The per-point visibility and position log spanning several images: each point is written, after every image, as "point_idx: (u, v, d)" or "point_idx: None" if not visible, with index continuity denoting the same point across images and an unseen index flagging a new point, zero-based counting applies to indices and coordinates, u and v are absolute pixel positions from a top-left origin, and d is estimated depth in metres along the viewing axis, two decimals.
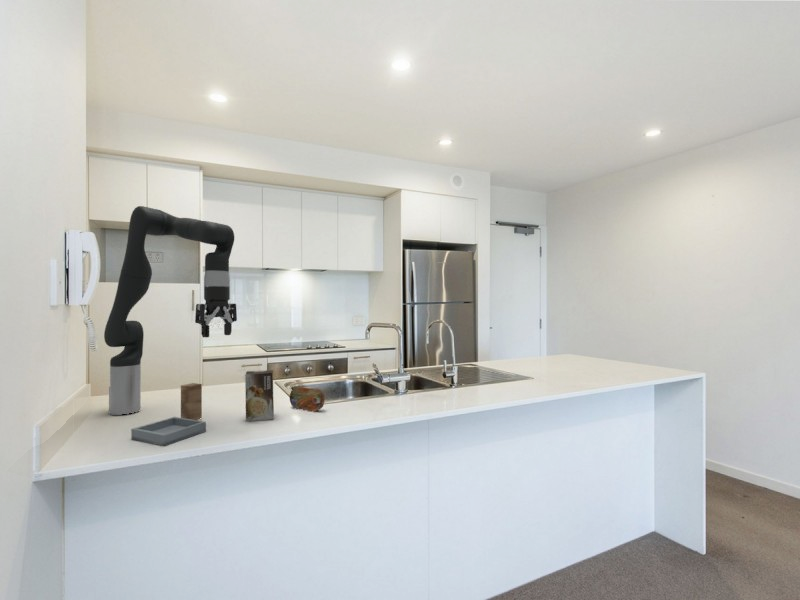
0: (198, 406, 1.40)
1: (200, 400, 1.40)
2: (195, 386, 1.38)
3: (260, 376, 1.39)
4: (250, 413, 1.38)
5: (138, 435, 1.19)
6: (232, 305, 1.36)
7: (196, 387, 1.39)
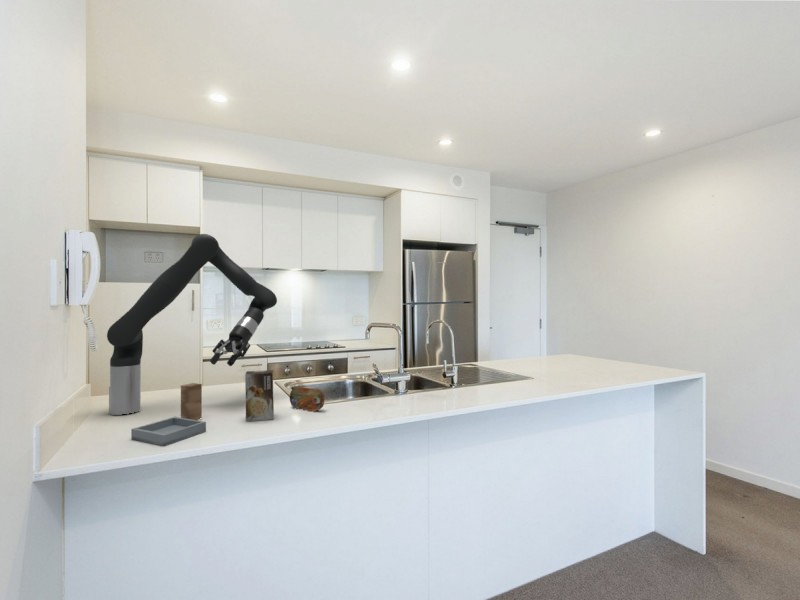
0: (198, 406, 1.40)
1: (200, 400, 1.40)
2: (195, 386, 1.38)
3: (260, 376, 1.39)
4: (250, 413, 1.38)
5: (138, 435, 1.19)
6: None
7: (196, 387, 1.39)
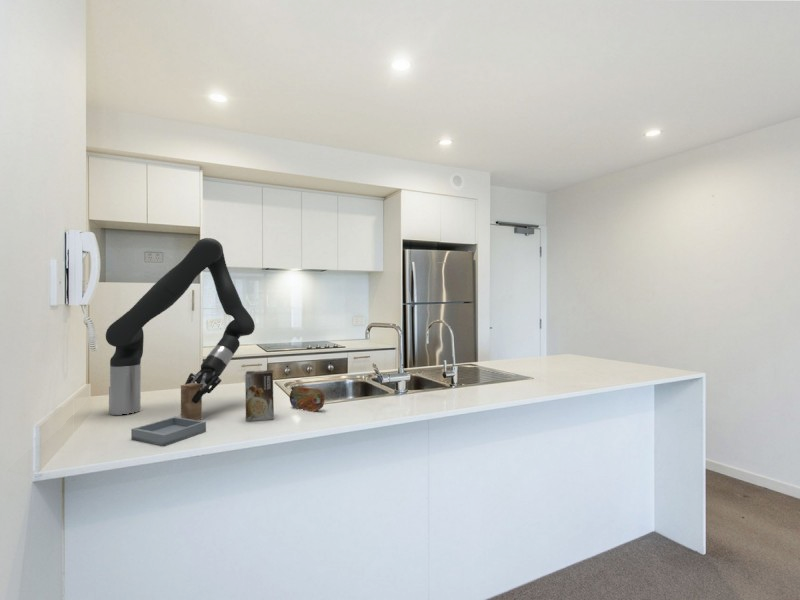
0: (198, 406, 1.40)
1: (200, 400, 1.40)
2: (195, 386, 1.38)
3: (260, 376, 1.39)
4: (250, 413, 1.38)
5: (138, 435, 1.19)
6: None
7: (196, 387, 1.39)
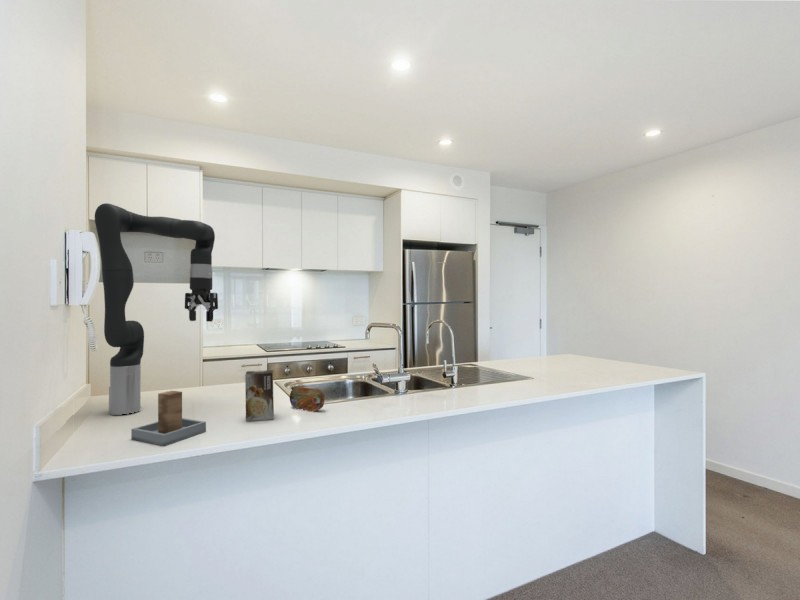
0: (178, 417, 1.24)
1: (181, 410, 1.25)
2: (174, 394, 1.23)
3: (260, 376, 1.39)
4: (250, 413, 1.38)
5: (138, 435, 1.19)
6: None
7: (176, 396, 1.23)
